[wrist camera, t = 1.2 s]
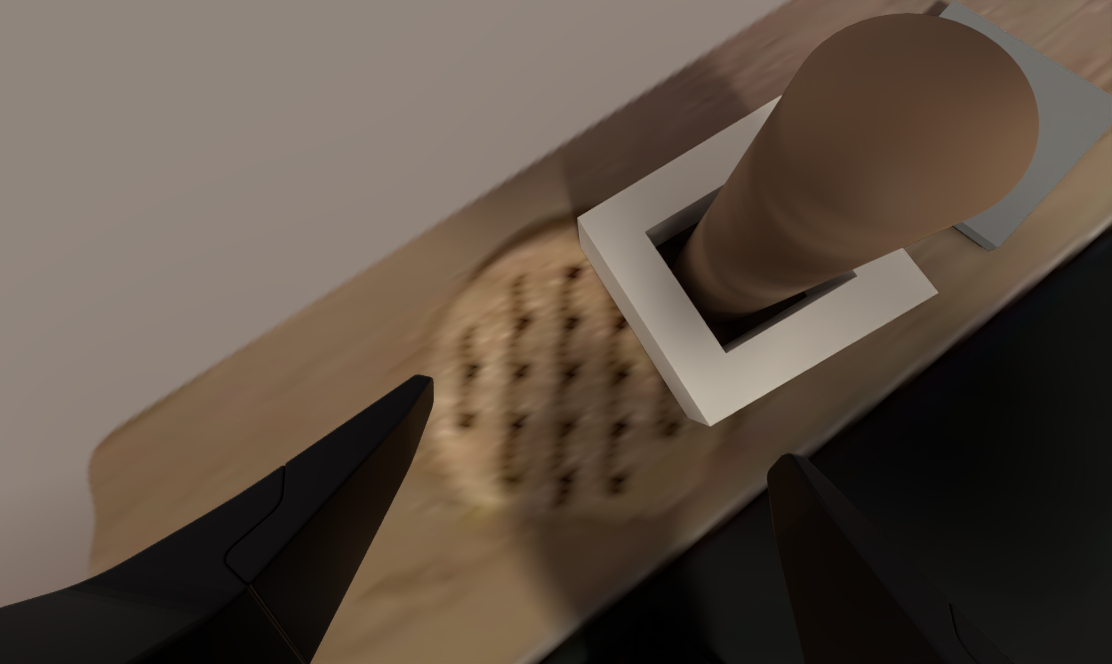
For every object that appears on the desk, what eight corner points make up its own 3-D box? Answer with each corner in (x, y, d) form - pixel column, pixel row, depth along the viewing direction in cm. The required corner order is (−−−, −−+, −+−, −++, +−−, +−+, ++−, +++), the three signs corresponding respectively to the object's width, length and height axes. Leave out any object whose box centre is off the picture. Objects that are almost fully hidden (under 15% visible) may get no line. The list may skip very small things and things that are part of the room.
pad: (1115, 112, 20) (1128, 106, 20) (988, 251, 20) (998, 247, 20) (946, 8, 22) (954, -1, 21) (826, 135, 22) (832, 129, 21)
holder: (871, 310, 20) (938, 292, 16) (688, 418, 20) (710, 426, 16) (748, 146, 22) (781, 94, 18) (580, 247, 22) (577, 217, 18)
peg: (787, 274, 21) (1092, 101, 8) (724, 341, 21) (932, 276, 8) (714, 215, 22) (885, -26, 9) (652, 280, 22) (737, 131, 9)
